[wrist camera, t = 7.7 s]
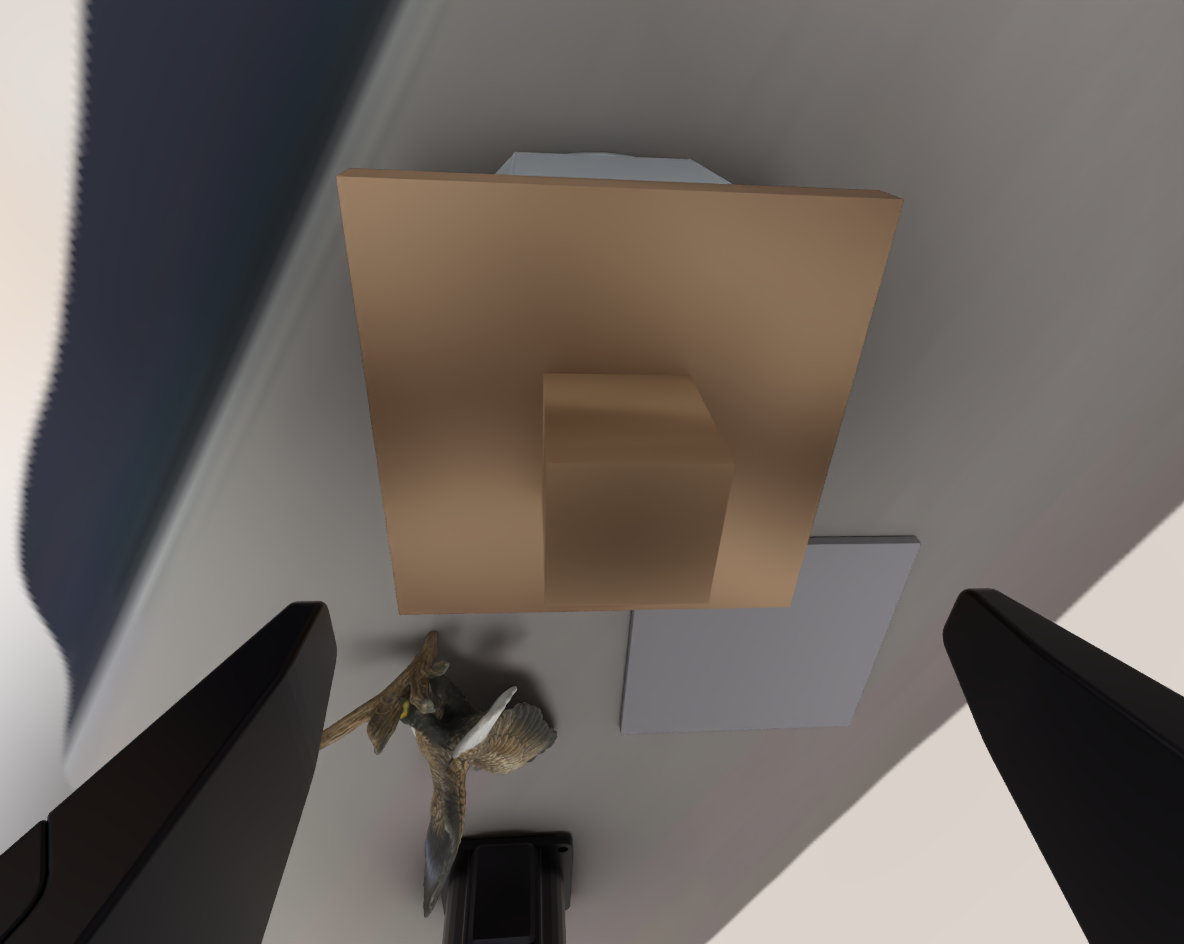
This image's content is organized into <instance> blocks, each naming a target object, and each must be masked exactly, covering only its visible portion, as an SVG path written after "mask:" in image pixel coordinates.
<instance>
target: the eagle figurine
mask: <svg viewBox="0 0 1184 944" xmlns="http://www.w3.org/2000/svg"><path fill="white" fill-rule="evenodd" d="M437 636H438V634H437V632H436V631H433V632H431V633H430V634H429V635H428V636H427V639H426V641H425V644H424V647H423V648H422V650H421V652H419V653H418V654H416V656H415V659H414V660H413V661H412V663H411V664H410V665H409V666H408V667H407V668H406V669H405V670H404V671H403V672H402V673H401V674H400V675H399V676H398V677H397V678H396V679H395V680H394V681H393V682H392V683H391V684H390V685H389V686H388V687H387V688H386V689H385V690H384V691H382V692H381V693H380V694H378V695H377V696H375V697H374V698H372V699H370V700H369V701H367V702H366V703H364V704H363V705H361V706H360V707H358V708H357V709H355V710H354V711H352V712H351V713H349V714H348V715H346V716H345V717H343V718H342V719H340V720H339V721H337V722H336V723H335V724H333V725H332V726H330V727H329V728H327V729H325V730H324V731H323V732H322V737H321V743H320V748H319V750H321V749H323V748H324V747H326V746H328V745H330V744H332V743H334V742H336V741H337V740H339V739H340V738H342V737H343V736H345V735H347V734H349V733H350V732H351V731H353V730H354V729H355V728H357V727H358V726H359V725H361V724H362V723H365V722H367V721H369V723H368V726H367V733H368V736H369V738H370V740H371V742H372V743H373V745H374V753H375V754H376V755H379V754H380V753H381V752H382V750H383V748H384V747H385V745H386V744H387V742H388V740H389V738H390V737H391V735H392V734H393V733H394V731H395V729H396V727H397V724H398V722H399V719H400V720H401V721H402V722H403V723H404V724H407V725H409V726H411V729H412V732H413V733H414V735H415V737H416V740H417V744H418V746H419V748H420V750H421V752H422V754H423V755H424V757H425V758H426V759H427V761H428V763H429V765H430V769H431V773H432V778H433V789H434V791H433V796H432V801H431V820H430V824H429V828H428V832H427V837H426V842H425V857H426V862H425V877H424V905H423V907H424V917H425V918H426V917H427V916H429V915H430V913H431V911H432V910H433V908H434V906H435V904H436V901H437V898H438V896H439V894H440V892H441V890H442V888H443V886H444V883H445V881H446V879H447V876H448V874H449V872H450V869H451V867H452V864H453V862H454V860H455V857H456V854H457V851H458V847H459V844H460V842H461V838H462V835H463V827H464V818H465V811H466V808H465V805H466V790H465V778H466V773H467V771H468V769H469V767H470V766H471V768H472V770H474V771H478V770H480V769H484V770H486V771H488V772H491V773H494V774H506V773H508V772H510V771H513V770H517V769H518V768H520V767H522V766H523V765H524V764H525V763H526V762H531V761H533V760H534V759H535V757H536V755H538V754H540V753H543V752H544V751H545V749H547V748H549V747H551V746H552V744H553V743H554V741H555V740H556V738H557V732H556V731H554V730H553V729H552V727H549V725H548V724H547V723H546V721H545V720H542V718H543V714H542V713H541V709H540V708H537V707H536V706H535V705H529V703H527V702H523V703H522V704H521V703H517V704H516V705H515V706H514V707H513V708H512V709H506V710H504V708H505V707H506V705H507V703H508V702H509V701H510V699H511V697H512V695H513V694H514V693H515V692H516V691H517V687H516V686H514V687H511V688H509V689H508V690H506V691H505V692H504V693H503V694H502V695H501V696H500V697H499V698H497V700H496V701H495V702H494V704H493V705H492V706H491V708H490V709H489V710H486V711H484V712H481V711H479V710H476V709H475V708H474V707H472V706H471V705H470V703H468V702H467V701H466V700H465V696H464V695H463V694H462V692H461V690H460V689H459V688H458V687H456V686H455V685H454V684H453V683H452V682H451V681H450V679H449V678H448V677H447V676H445V674H444V673H445V672H446V670H447V669H448V667H449V662H448V661H444V660H442V661H440V662H438V663H437V664H436V666H435V667H432V666H433V664H434V663H435V661H436V660H437V657H438V650H437ZM429 683H430V685H431V688H432V691H433V693H434V695H435V696H436V697H437V699H438V701H439V706H440V708H441V709H438V710H436V708H435V706H434V704H433V701H432V700H431V699H430V694H429ZM503 710H504V711H503ZM502 711H503V712H502Z"/></svg>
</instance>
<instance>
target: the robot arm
mask: <svg viewBox="0 0 1184 944" xmlns="http://www.w3.org/2000/svg"><path fill="white" fill-rule="evenodd" d="M943 642H944V646H945V649H946V651H947V654H948V656H949V659H950V661H951V664H952V666H953V668H954V671H955V673H956V676H957V678H958V681H959V683H960V686H961V688H962V691H963V693H964V696H965V698H966V700H967V703H968V705H969V708H970V710H971V713H972V715H973V718H974V720H975V723H976V725H977V727H978V730H979V732H980V734H981V736H982V739H983V741H984V743H985V745H986V747H987V749H988V751H989V753H990V755H991V757H992V759H993V761H994V763H995V765H996V767H997V769H998V771H999V772H1000V774H1001V776H1002V778H1003V780H1004V782H1005V784H1006V786H1007V787H1008V790H1009V792H1010V793H1011V795H1012V797H1013V799H1014V801H1015V803H1016V805H1017V807H1018V809H1019V811H1020V812H1021V814H1022V816H1023V818H1024V820H1025V822H1026V824H1027V826H1028V828H1029V830H1030V831H1031V833H1032V835H1033V837H1034V839H1035V841H1036V843H1037V845H1038V847H1039V849H1040V851H1041V853H1042V854H1043V856H1044V858H1045V860H1046V862H1047V864H1048V866H1049V868H1050V870H1051V871H1052V873H1053V875H1054V877H1055V879H1056V881H1057V883H1058V885H1059V887H1060V889H1061V891H1062V892H1063V894H1064V896H1065V898H1066V900H1067V902H1068V904H1069V906H1070V908H1071V910H1072V912H1073V913H1074V915H1075V917H1076V919H1077V921H1078V923H1079V925H1080V927H1081V929H1082V931H1083V932H1084V934H1085V936H1086V938H1087V940H1088V942H1089V944H1184V697H1183V696H1181V695H1180V694H1178V693H1176V692H1174V691H1172V690H1171V689H1169V688H1167V687H1166V686H1164V685H1162V684H1160V683H1159V682H1157V681H1155V680H1153V679H1152V678H1150V677H1148V676H1146V675H1144V674H1143V673H1141V672H1139V671H1137V670H1136V669H1134V668H1132V667H1130V666H1129V665H1127V664H1125V663H1123V662H1122V661H1120V660H1118V659H1116V658H1114V657H1113V656H1111V655H1109V654H1108V653H1106V652H1104V651H1102V650H1101V649H1099V648H1097V647H1095V646H1094V645H1092V644H1090V643H1088V642H1087V641H1085V640H1083V639H1081V638H1080V637H1078V636H1076V635H1074V634H1072V633H1071V632H1069V631H1067V630H1066V629H1064V628H1062V627H1060V626H1059V625H1057V624H1055V623H1053V622H1052V621H1050V620H1048V619H1046V618H1045V617H1043V616H1041V615H1039V614H1038V613H1036V612H1034V611H1032V610H1031V609H1029V608H1027V607H1025V606H1024V605H1022V604H1020V603H1018V602H1016V601H1015V600H1013V599H1011V598H1009V597H1008V596H1006V595H1004V594H1002V593H1001V592H999V591H997V590H995V589H990V588H973V589H965V590H963V591H962V592H961V593H960V594H959V596H958V597H957V600H956V602H955V604H954V606H953V608H952V610H951V613H950V615H949V617H948V619H947V621H946V623H945V626H944V628H943ZM336 656H337V647H336V641H335V636H334V632H333V627H332V623H331V619H330V614H329V610H328V607H327V605H326V604H325V603H324V602H322V601H297V602H293V603H291V604H289V605H288V606H287V607H286V608H285V609H283V610H282V611H281V612H280V613H279V614H278V615H277V616H275V617H274V618H273V619H272V620H271V621H270V622H268V623H267V624H266V625H265V626H264V627H263V628H262V629H260V630H259V631H258V632H257V633H256V634H255V635H254V636H252V637H251V638H250V639H249V640H248V641H247V642H246V643H244V644H243V645H242V646H241V647H240V648H239V649H237V650H236V651H235V652H234V653H233V654H232V655H231V656H229V657H228V658H227V659H226V660H225V661H224V662H223V663H221V664H220V665H219V666H218V667H217V668H216V669H214V670H213V671H212V672H211V673H210V674H209V675H208V676H206V677H205V678H204V679H203V680H202V681H201V682H200V683H198V684H197V685H196V686H195V687H194V688H193V689H191V690H190V691H189V692H188V693H187V694H186V695H185V696H183V697H182V698H181V699H180V700H179V701H178V702H177V703H175V704H174V705H173V706H172V707H171V708H170V709H169V710H167V711H166V712H165V713H164V714H163V715H162V716H160V717H159V718H158V719H157V720H156V721H155V722H154V723H152V724H151V725H150V726H149V727H148V728H147V729H146V730H144V731H143V732H142V733H141V734H140V735H139V736H137V737H136V738H135V739H134V740H133V741H132V742H131V743H129V744H128V745H127V746H126V747H125V748H124V749H123V750H121V751H120V752H119V753H118V754H117V755H116V756H114V757H113V758H112V759H111V760H110V761H109V762H108V763H106V764H105V765H104V766H103V767H102V768H101V769H100V770H98V771H97V772H96V773H95V774H94V775H93V776H92V777H90V778H89V779H88V780H87V781H86V782H85V783H83V784H82V785H81V786H80V787H79V788H78V789H77V790H75V791H74V792H73V793H72V794H71V795H70V796H69V797H67V798H66V799H65V800H64V801H63V802H62V803H61V804H59V805H58V806H57V807H56V808H55V809H54V810H53V811H51V812H50V813H49V815H48V817H47V821H46V820H42V821H40V822H38V823H37V824H36V825H35V826H34V827H33V828H31V829H30V830H29V831H28V832H27V833H26V834H25V835H24V836H22V837H21V838H20V839H19V840H18V841H17V842H15V843H14V844H13V845H12V846H11V847H10V848H9V849H7V850H6V851H5V852H4V853H3V854H1V855H0V944H261V943H262V939H263V936H264V933H265V930H266V927H267V923H268V920H269V917H270V914H271V911H272V907H273V904H274V901H275V898H276V895H277V891H278V888H279V885H280V882H281V879H282V875H283V872H284V869H285V866H286V862H287V859H288V856H289V853H290V850H291V846H292V843H293V840H294V837H295V834H296V830H297V827H298V824H299V821H300V818H301V814H302V811H303V808H304V805H305V802H306V798H307V795H308V792H309V789H310V785H311V782H312V778H313V775H314V771H315V767H316V762H317V758H318V753H319V748H320V743H321V737H322V732H323V727H324V722H325V716H326V711H327V706H328V701H329V695H330V690H331V685H332V680H333V675H334V669H335V664H336ZM572 862H573V840H572V838H571V837H569V836H565V835H561V836H542V837H522V838H503V839H484V840H465V841H461V842H460V844H459V847H458V851H457V854H456V857H455V860H454V862H453V864H452V867H451V869H450V872H449V874H448V876H447V879H446V881H445V883H444V886H443V888H442V890H441V895H442V902H443V909H444V914H445V922H444V932H443V942H442V944H566V928H565V910H567V909H568V908H569V907H570V897H571V879H572Z"/></svg>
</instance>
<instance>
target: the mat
mask: <svg viewBox="0 0 1184 944" xmlns="http://www.w3.org/2000/svg"><path fill="white" fill-rule="evenodd" d="M920 545H921V543H920V541H919V540H918V539H917V538H916V536H903V537H813V538H809V540H808V544H807V547H806V551H805V554H804V558H803V561H802V565H801V569H800V572H799V576H798V579H797V583H796V586H795V590H794V593H793V597H792V601H791V604H790V607H774V608H722V609H671V610H632V616H631V626H630V635H629V644H628V654H627V663H626V672H625V682H624V691H623V701H622V710H621V719H620V732H621V735H622V734H648V733H674V732H700V731H726V730H752V729H778V728H804V727H830V726H849V725H850V723H851V720H852V718H853V715H854V713H855V710H856V708H857V705H858V702H859V700H860V697H861V695H862V692H863V690H864V687H865V685H866V682H867V680H868V677H869V675H870V672H871V669H872V667H873V664H874V662H875V659H876V657H877V654H878V652H879V649H880V647H881V644H882V641H883V639H884V636H885V634H886V631H887V629H888V626H889V624H890V621H891V619H892V616H893V613H894V611H895V608H896V606H897V603H898V601H899V598H900V596H901V593H902V591H903V588H904V585H905V583H906V580H907V578H908V575H909V573H910V570H911V568H912V565H913V563H914V560H915V557H916V555H917V552H918V550H919V547H920Z"/></svg>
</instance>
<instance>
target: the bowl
mask: <svg viewBox="0 0 1184 944" xmlns="http://www.w3.org/2000/svg"><path fill="white" fill-rule="evenodd" d="M495 174H501V175H525V176H549V177H573V178H596V179H620V180H644V181H668V182H692V183H715V184H732V183H730V182H728V181H727V180H725V179H723V178H722V177H720V176H718V175H717V174H715V173H713V172H712V171H710V170H708V169H707V168H705V167H703V166H702V165H700V164H698V163H697V162H695V161H693V160H692V159H690V158H689V159H670V158H647V157H633V156H629V155H624V154H615V153H607V152H577V153H569V154H553V153H530V152H517V151H516V152H514V154H513V155H512V156H511V157H510V158H509V159H508V160H507V161H506V162H505V164H504V165H503V166H502V167H501V168H500V169H499V170H498V171H497V172H496V173H495Z"/></svg>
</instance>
